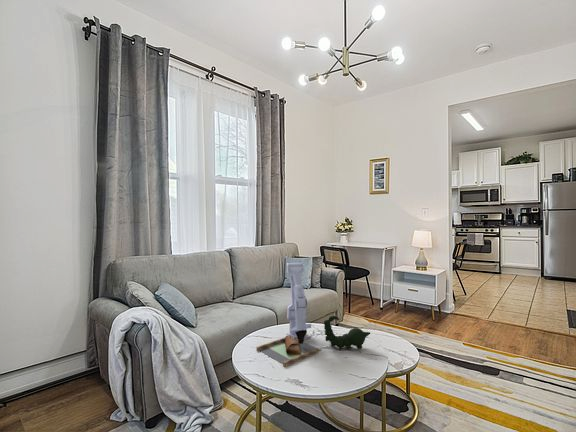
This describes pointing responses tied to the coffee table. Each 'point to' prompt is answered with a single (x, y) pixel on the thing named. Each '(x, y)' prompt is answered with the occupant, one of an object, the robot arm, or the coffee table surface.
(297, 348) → the sunglasses case
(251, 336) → the coffee table surface
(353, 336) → the toy figurine
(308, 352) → the lane rails
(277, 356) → the zone mats
